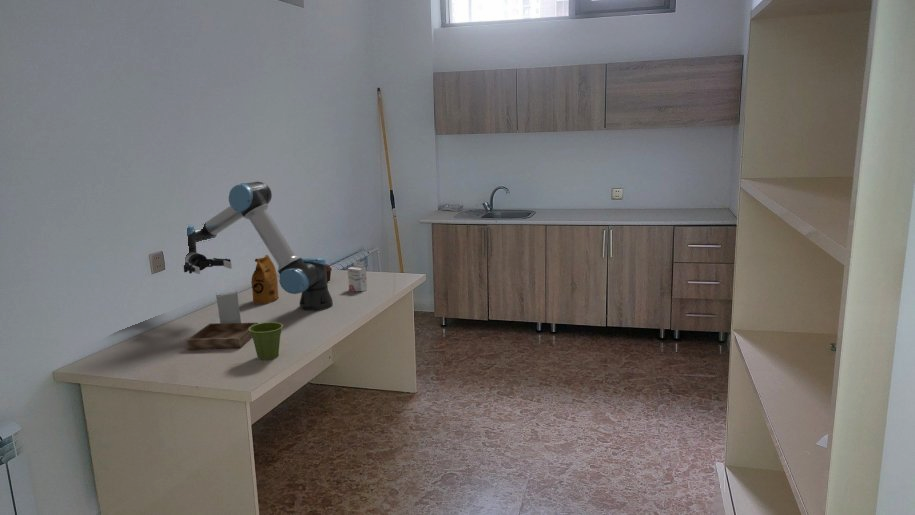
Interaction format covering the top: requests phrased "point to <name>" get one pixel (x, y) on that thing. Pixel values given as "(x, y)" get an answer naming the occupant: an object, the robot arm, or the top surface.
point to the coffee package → (264, 281)
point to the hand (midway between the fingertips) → (215, 268)
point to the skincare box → (228, 307)
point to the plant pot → (266, 339)
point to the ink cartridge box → (357, 277)
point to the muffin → (328, 272)
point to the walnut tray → (221, 336)
